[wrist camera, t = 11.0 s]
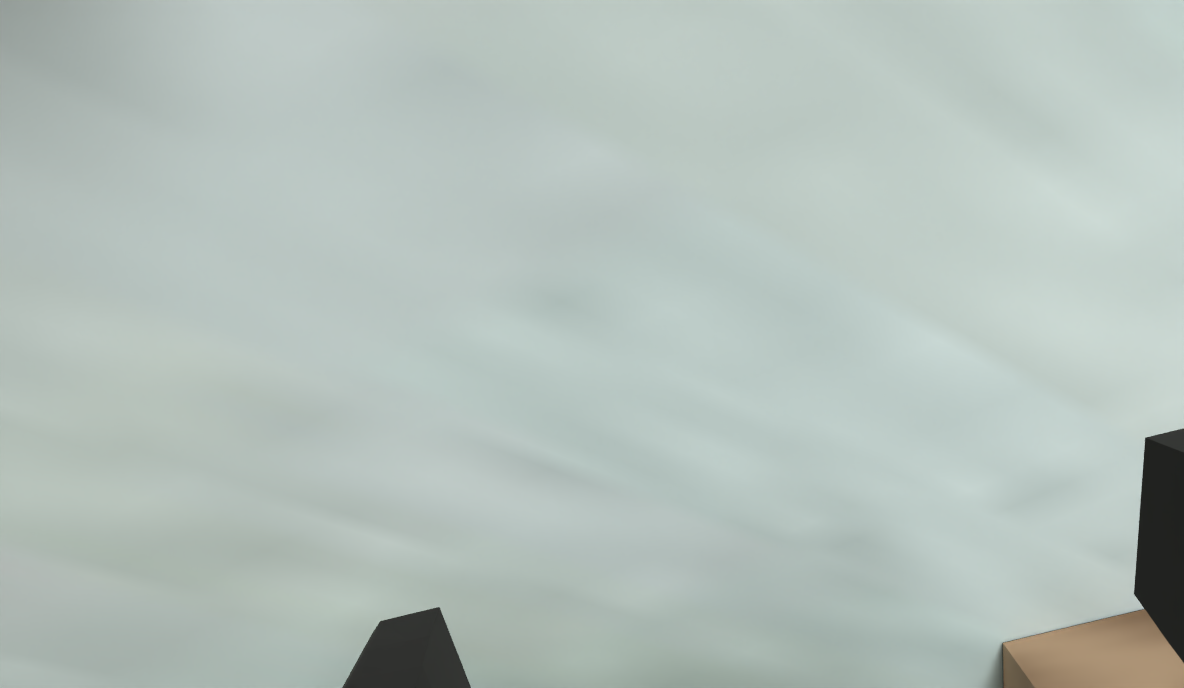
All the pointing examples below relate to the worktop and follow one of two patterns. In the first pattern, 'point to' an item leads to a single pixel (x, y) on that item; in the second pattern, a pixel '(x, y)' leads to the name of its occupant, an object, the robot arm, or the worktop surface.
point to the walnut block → (1095, 656)
